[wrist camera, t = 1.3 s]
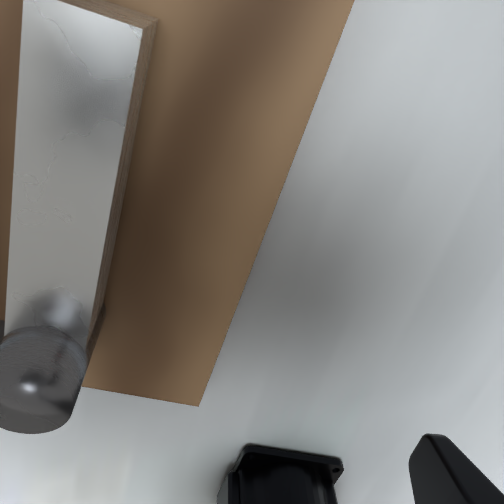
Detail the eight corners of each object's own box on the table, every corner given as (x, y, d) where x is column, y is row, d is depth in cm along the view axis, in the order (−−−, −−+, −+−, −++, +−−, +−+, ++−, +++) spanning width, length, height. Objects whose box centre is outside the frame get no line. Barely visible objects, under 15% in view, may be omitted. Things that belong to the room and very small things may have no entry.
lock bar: (100, 342, 20) (67, 440, 16) (25, 328, 20) (-30, 425, 16) (164, 20, 14) (137, 42, 10) (55, -17, 13) (-26, -12, 9)
